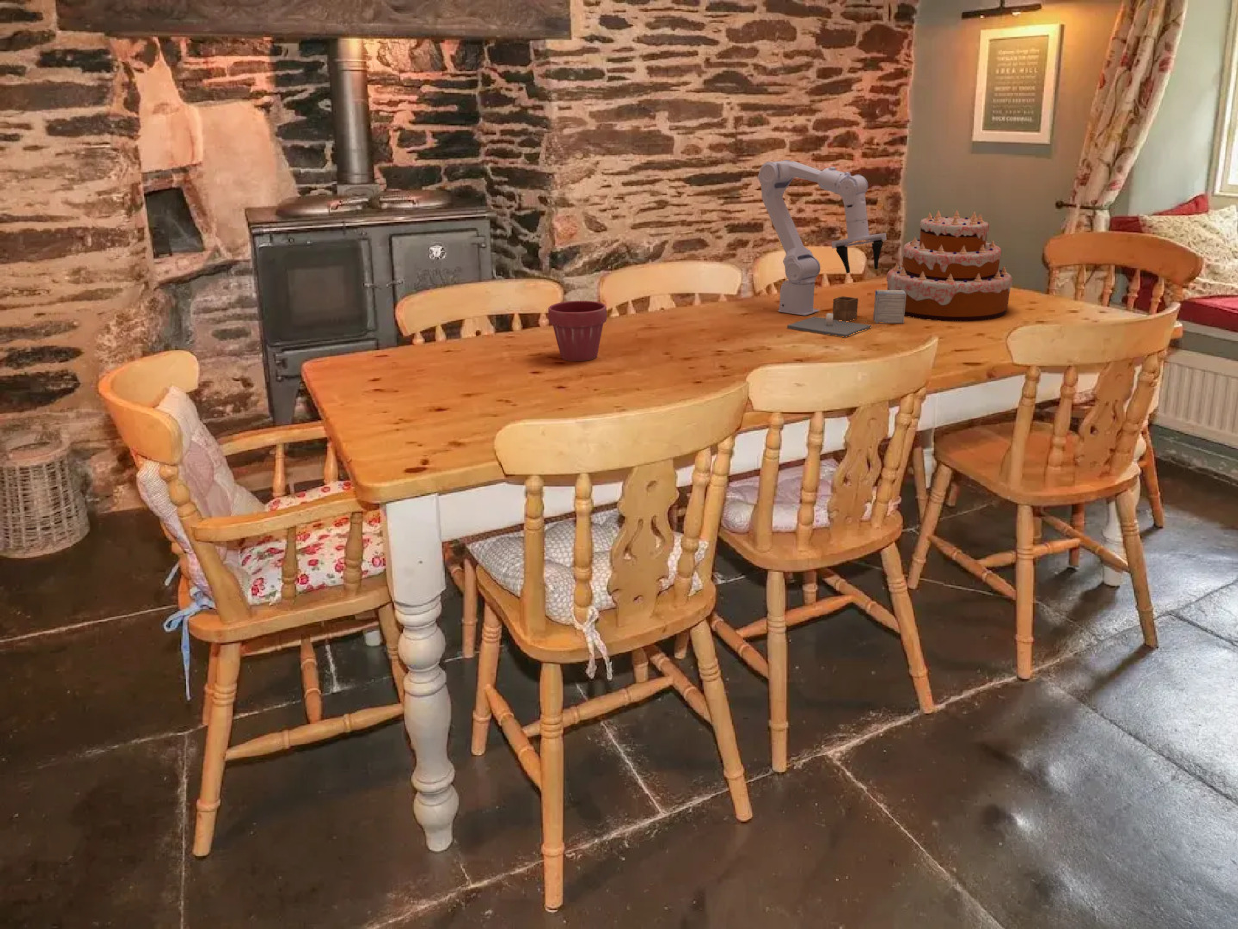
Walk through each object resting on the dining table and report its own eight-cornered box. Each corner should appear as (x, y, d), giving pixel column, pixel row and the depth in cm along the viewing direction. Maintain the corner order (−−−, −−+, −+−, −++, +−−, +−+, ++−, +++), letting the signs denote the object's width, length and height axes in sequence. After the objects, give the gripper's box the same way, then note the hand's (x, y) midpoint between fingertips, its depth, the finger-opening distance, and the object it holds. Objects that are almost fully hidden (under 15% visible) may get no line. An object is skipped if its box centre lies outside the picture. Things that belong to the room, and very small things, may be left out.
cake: (986, 296, 313) (996, 205, 303) (1026, 321, 280) (1039, 219, 270) (873, 297, 314) (880, 206, 304) (900, 322, 281) (909, 221, 271)
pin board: (787, 328, 276) (787, 313, 274) (813, 319, 286) (814, 305, 284) (845, 337, 265) (846, 322, 263) (871, 328, 275) (872, 313, 273)
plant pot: (540, 361, 246) (538, 309, 242) (563, 348, 259) (562, 298, 254) (594, 366, 242) (593, 313, 237) (615, 352, 254) (614, 302, 249)
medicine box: (901, 320, 283) (904, 289, 280) (903, 323, 279) (906, 292, 276) (872, 320, 284) (875, 289, 281) (875, 323, 280) (877, 292, 277)
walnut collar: (832, 319, 285) (833, 298, 283) (841, 316, 288) (842, 296, 286) (847, 322, 282) (849, 301, 279) (856, 319, 285) (858, 298, 283)
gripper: (827, 225, 273) (833, 275, 276) (882, 217, 268) (887, 268, 271) (832, 224, 280) (837, 273, 283) (885, 216, 274) (890, 266, 277)
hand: (862, 270), depth 277 cm, fingers open, 7 cm apart
